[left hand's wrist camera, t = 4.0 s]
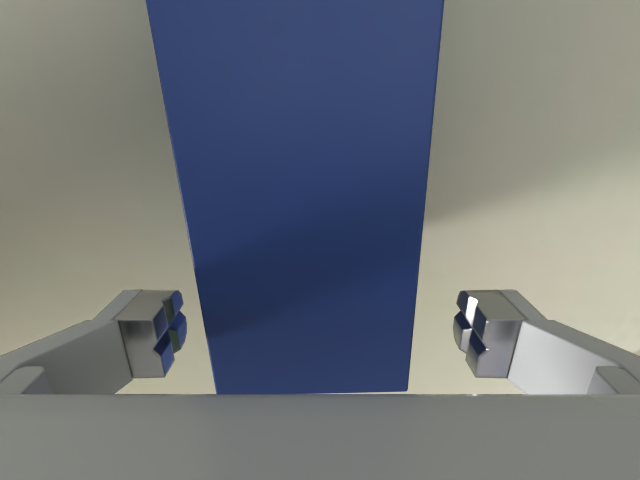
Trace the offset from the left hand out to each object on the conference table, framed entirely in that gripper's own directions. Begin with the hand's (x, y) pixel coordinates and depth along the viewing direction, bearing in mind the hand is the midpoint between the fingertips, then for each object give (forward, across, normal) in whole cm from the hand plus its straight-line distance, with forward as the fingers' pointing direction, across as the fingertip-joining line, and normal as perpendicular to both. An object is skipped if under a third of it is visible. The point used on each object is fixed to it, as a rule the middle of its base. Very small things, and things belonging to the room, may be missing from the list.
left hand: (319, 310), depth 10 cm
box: (+11, -1, +9) cm, 14 cm away
